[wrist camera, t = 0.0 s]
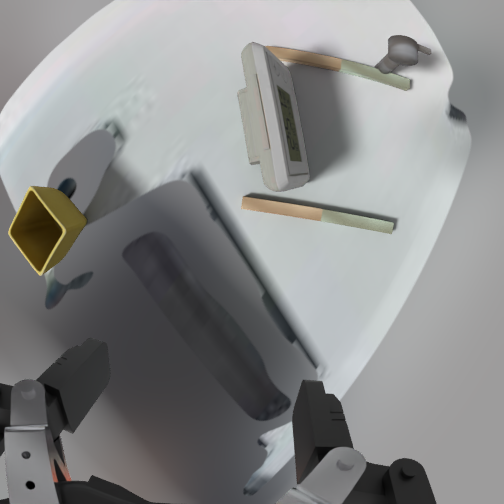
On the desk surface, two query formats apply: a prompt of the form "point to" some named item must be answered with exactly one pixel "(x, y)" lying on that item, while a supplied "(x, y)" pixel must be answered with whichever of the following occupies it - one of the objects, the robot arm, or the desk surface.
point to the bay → (399, 53)
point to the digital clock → (272, 120)
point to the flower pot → (46, 227)
